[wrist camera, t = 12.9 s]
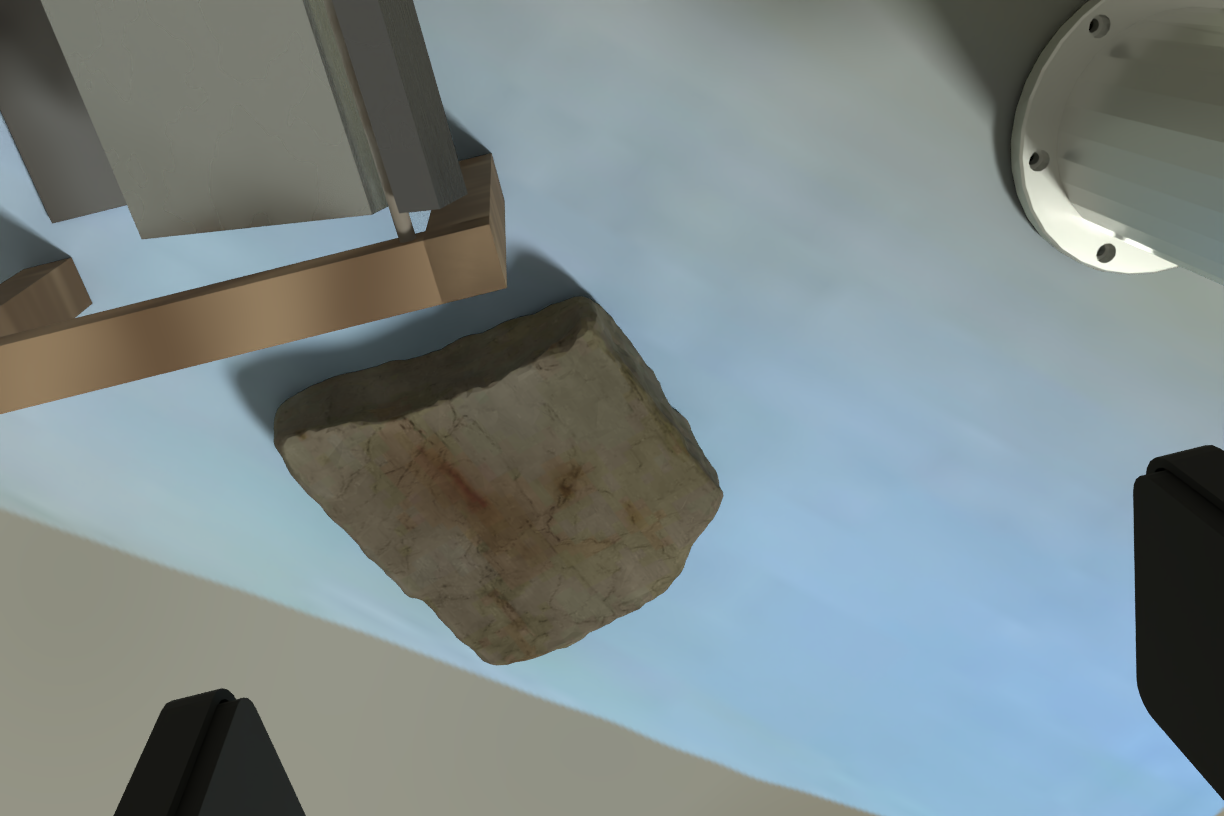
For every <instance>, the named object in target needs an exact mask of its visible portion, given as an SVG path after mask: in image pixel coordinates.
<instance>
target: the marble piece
mask: <svg viewBox="0 0 1224 816" xmlns="http://www.w3.org/2000/svg"><path fill="white" fill-rule="evenodd" d="M274 445H275V447H276V449H277V450H278V452H279V453H280V455H281V456H282V458H283V460H284V462H285V464H286V467H287V468H288V470H289V472H290V474H291V475H292V476H293V478H294V479H295V480H296V481H297V482H298V484H299V485H300V486H301V487H302V488H303V489H304V490H305V492H306V493H307V494H308V495H309V496H310V497H312V498H313V499H314V500H315V501H316V502H317V503H318V504H319V505H320V506H321V507H322V508H323V510H324V511H325V512H326V514H327V515H328V516H329V517H330V518H331V519H332V520H333V521H334V522H335V523H337V524H338V525H339V526H340V527H342V528H343V529H344V530H345V531H346V532H347V533H348V534H349V535H350V536H351V538H352V539H353V540H354V541H355V542H356V543H357V544H358V545H359V546H360V548H361V550H362V551H363V552H364V554H365V555H366V556H367V557H368V558H369V559H371V560H372V561H374V562H375V563H376V564H377V565H378V566H379V567H380V568H382V569H383V571H384V572H385V573H386V575H388V576H389V577H390V578H391V579H392V580H394V581H395V582H396V583H397V585H398V586H399V587H400V588H401V589H402V591H403V592H404V594H406V595H407V596H409V597H411V598H417V599H420V600H422V601H424V602H425V603H426V604H427V605H428V606H429V607H430V608H431V609H432V610H433V611H434V612H435V613H436V615H437V616H438V618H439V619H440V620H441V621H442V622H443V623H444V624H445V625H446V626H447V627H448V628H450V630H451V631H452V632H453V633H454V634H455V636H456V637H457V638H458V639H459V640H460V641H462V642H463V643H464V644H466V645H467V646H469V647H470V648H471V649H472V650H474V651H475V653H476V654H477V655H478V656H479V657H480V658H481V659H482V660H483V661H484V662H487V663H489V664H492V665H508V664H511V663H514V662H520V661H525V660H530V659H533V658H536V657H539V656H542V655H544V654H547V653H549V652H552V651H554V650H556V649H561V648H567V647H568V646H570V645H572V644H574V643H576V642H578V641H579V640H581V639H583V638H584V637H585V636H586V635H587V634H588V633H589V632H592V631H595V630H597V629H599V628H601V627H603V626H605V625H607V624H610V623H611V622H612V621H614V620H615V619H617V618H619V617H622V616H624V615H627V614H629V613H631V612H633V611H635V610H638V609H640V608H641V607H642V606H643V605H644V604H645V603H647V602H649V601H651V600H653V599H655V598H656V597H657V596H659V595H660V594H662V593H664V592H665V591H666V590H667V589H668V587H669V586H670V585H671V584H672V582H673V581H674V580H675V579H676V578H677V577H678V576H679V575H680V573H681V572H682V570H683V568H684V565H685V561H686V559H687V557H688V555H689V552H690V549H691V547H692V545H693V543H694V542H695V541H696V539H697V538H698V537H699V536H700V534H701V533H702V532H703V531H704V530H705V528H706V527H707V526H708V524H709V523H710V522H711V521H712V520H713V518H714V516H715V515H716V513H717V511H718V509H719V507H720V504H721V501H722V498H723V491H722V490H721V488H720V486H719V480H718V475H717V473H716V470H715V469H714V468H713V467H712V466H711V464H710V462H709V461H708V459H707V458H706V457H705V455H704V453H703V451H702V449H701V448H700V447H699V445H698V443H697V441H696V439H695V437H694V435H693V433H692V431H691V427H690V425H689V423H688V421H687V420H686V418H685V417H683V416H682V415H681V414H680V413H678V412H677V411H675V410H674V409H673V408H672V407H671V406H670V404H669V403H668V400H667V399H666V397H665V395H664V393H663V391H662V388H661V385H660V383H659V381H658V380H657V378H656V376H655V374H654V371H653V370H652V369H650V368H649V367H648V366H647V365H646V363H645V362H644V360H643V359H642V357H641V356H640V355H639V353H638V352H637V350H636V349H635V347H634V346H633V345H632V343H631V341H630V340H629V339H628V338H627V336H626V335H625V334H624V333H623V332H622V330H621V329H620V327H618V326H617V325H616V323H615V321H614V320H613V318H612V317H611V316H610V315H608V314H607V313H606V312H605V310H604V309H603V308H602V307H601V306H600V305H599V304H596V303H595V302H593V301H592V300H591V299H589V298H586V297H583V296H579V297H573V298H570V299H568V300H565V301H562V302H560V303H556V304H552V305H550V306H548V307H546V308H544V309H543V310H541V311H539V312H537V313H536V314H533V315H527V316H522V317H519V318H516V319H512V320H509V321H506V322H504V323H501V324H499V325H498V326H496V327H494V328H493V329H490V330H487V331H486V332H484V333H480V334H474V335H469V336H465V337H462V338H460V339H458V340H456V341H455V342H453V343H451V344H449V345H447V346H446V347H444V348H443V349H441V350H439V351H434V352H431V353H429V354H426V355H423V356H419V357H416V358H412V359H408V360H395V361H390V362H387V363H384V364H382V365H379V366H377V367H372V368H368V369H365V370H361V371H356V372H351V373H346V374H342V375H338V376H335V377H332V378H330V379H327V380H325V381H323V382H321V383H318V384H315V385H313V386H310V387H308V388H307V389H305V390H303V391H301V392H299V393H298V394H296V395H294V396H293V397H291V398H289V399H288V400H286V401H285V402H284V403H283V404H282V405H280V407H279V408H278V410H277V412H276V415H275V419H274Z"/></svg>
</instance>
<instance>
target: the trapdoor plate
mask: <svg viewBox="0 0 1224 816" xmlns="http://www.w3.org/2000/svg"><path fill="white" fill-rule="evenodd" d="M41 2H42V5H43V7H44V10H45V12H46V14H47V17H48V19H49V21H50V24H51V26H52V28H53V31H54V33H55V36H56V38H57V40H58V43H59V45H60V47H61V50H62V52H63V54H64V57H65V59H66V62H67V64H68V66H69V69H70V71H71V73H72V76H73V78H74V80H75V83H76V85H77V87H78V90H79V92H80V95H81V97H82V99H83V102H84V104H85V106H86V109H87V111H88V113H89V116H90V118H91V121H92V123H93V125H94V128H95V130H96V132H97V135H98V137H99V139H100V142H101V144H102V147H103V149H104V151H105V154H106V156H107V158H108V161H109V163H110V165H111V168H112V170H113V172H114V175H115V177H116V180H117V182H118V184H119V187H120V189H121V191H122V194H123V196H124V198H125V201H126V203H127V206H128V208H129V210H130V213H131V215H132V217H133V220H134V222H135V224H136V227H137V229H138V232H139V234H140V236H141V239H149V238H158V237H168V236H177V235H186V234H196V233H205V232H214V231H224V230H233V229H242V228H252V227H261V226H270V225H280V224H289V223H298V222H307V221H317V220H326V219H335V218H345V217H354V216H363V215H372V214H374V213H376V212H378V211H380V210H382V209H384V208H386V207H388V203H387V200H386V197H385V194H384V191H383V187H382V184H381V181H380V178H379V175H378V172H377V168H376V165H375V162H374V159H373V156H372V153H371V150H370V146H369V143H368V140H367V137H366V134H365V131H364V128H363V124H362V121H361V118H360V115H359V112H358V109H357V106H356V102H355V99H354V96H353V93H352V90H351V87H350V84H349V80H348V77H347V74H346V71H345V68H344V65H343V62H342V58H341V55H340V52H339V49H338V46H337V43H336V40H335V36H334V33H333V30H332V27H331V24H330V21H329V18H328V14H327V11H326V8H325V5H324V2H323V0H41ZM332 2H333V5H334V8H335V12H336V15H337V18H338V21H339V24H340V27H341V31H342V34H343V37H344V40H345V43H346V46H347V50H348V53H349V56H350V59H351V62H352V66H353V69H354V72H355V75H356V78H357V81H358V85H359V88H360V91H361V94H362V97H363V100H364V104H365V107H366V110H367V113H368V116H369V120H370V123H371V126H372V129H373V132H374V135H375V139H376V142H377V145H378V148H379V151H380V155H381V158H382V161H383V164H384V167H385V170H386V174H387V177H388V180H389V183H390V186H391V189H392V193H393V196H394V199H395V202H396V205H397V209H398V212H399V213H408V212H417V211H426V210H436V209H441V208H443V207H445V206H447V205H448V204H450V203H452V202H454V201H456V200H458V199H459V198H461V197H463V196H465V195H467V194H468V193H467V189H466V186H465V182H464V179H463V175H462V172H461V168H460V165H459V161H458V158H457V154H456V151H455V147H454V144H453V140H452V137H451V133H450V130H449V126H448V123H447V119H446V115H445V112H444V108H443V105H442V101H441V98H440V94H439V91H438V87H437V84H436V80H435V77H434V73H433V70H432V66H431V63H430V59H429V56H428V52H427V49H426V45H425V42H424V38H423V35H422V31H421V28H420V24H419V21H418V17H417V14H416V10H415V7H414V3H413V0H332Z"/></svg>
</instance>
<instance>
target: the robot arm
mask: <svg viewBox="0 0 1224 816" xmlns="http://www.w3.org/2000/svg"><path fill="white" fill-rule="evenodd" d="M1091 21H1093V27H1092V29H1091V30H1090V31H1089V26H1090V22H1091ZM1033 153H1034V159H1033V160H1032V161H1031V162H1029V160H1030V157H1031V156H1032V154H1033ZM1011 169H1012V173H1013V178H1014V183H1015V187H1016V192H1017V196H1018V198H1019V200H1020V202H1021V205H1022V207H1023V209H1024V211H1025V214H1026V216H1027V218H1028V219H1029V221H1030V222H1031V223H1032V225H1033V226H1034V227H1035V229H1036V230H1037V231H1038V233H1039V234H1040V235H1041V237H1042V238H1044V239H1045V240H1046V241H1047V242H1048V243H1049V244H1051V245H1052V246H1053V247H1054V248H1055V249H1057V250H1058V251H1059V252H1060V253H1062V254H1064V255H1066V256H1068V257H1070V258H1072V259H1073V260H1075V261H1077V262H1079V263H1081V264H1083V265H1086V266H1088V267H1091V268H1093V269H1096V270H1099V271H1103V272H1110V273H1117V274H1124V275H1134V274H1150V273H1156V272H1160V271H1164V270H1168V269H1172V268H1176V267H1182V268H1185V269H1187V270H1189V271H1192V272H1194V273H1196V274H1198V275H1201V276H1203V277H1205V278H1207V279H1210V280H1212V281H1214V282H1216V283H1219V284H1221V285H1223V286H1224V0H1090V1H1088V2H1087V3H1085V4H1084V5H1083V6H1082V7H1081V8H1080V9H1079V10H1078V11H1077V12H1076V13H1075V14H1074V15H1073V16H1072V17H1070V18H1069V19H1068V20H1067V21H1066V22H1065V23H1064V24H1063V25H1062V26H1061V27H1060V28H1059V30H1058V31H1057V32H1056V34H1055V35H1054V36H1053V38H1052V39H1051V40H1050V42H1049V43H1048V44H1047V46H1046V47H1045V48H1044V50H1043V51H1042V52H1041V54H1040V56H1039V58H1038V60H1037V61H1036V63H1035V65H1034V67H1033V69H1032V71H1031V73H1030V75H1029V76H1028V78H1027V80H1026V82H1025V85H1024V88H1023V91H1022V94H1021V97H1020V100H1019V103H1018V106H1017V109H1016V112H1015V119H1014V125H1013V131H1012V137H1011ZM1099 248H1100V249H1099ZM1098 249H1099V250H1098ZM1097 250H1098V252H1097ZM1133 506H1134V562H1135V617H1136V673H1137V686H1138V690H1139V694H1140V696H1141V699H1142V701H1143V704H1144V706H1145V707H1146V709H1147V711H1148V713H1149V714H1150V715H1151V717H1152V718H1153V719H1154V720H1155V722H1156V723H1157V724H1158V725H1159V726H1160V727H1161V728H1162V730H1163V731H1164V732H1165V733H1166V734H1167V735H1168V737H1169V738H1170V739H1171V740H1172V741H1173V742H1174V743H1175V745H1176V746H1177V747H1178V748H1179V749H1180V750H1181V752H1182V753H1183V754H1184V755H1185V756H1186V757H1187V759H1188V760H1189V761H1190V762H1191V763H1192V764H1193V765H1194V767H1195V768H1196V769H1197V770H1198V771H1199V772H1200V774H1201V775H1202V776H1203V777H1204V778H1205V779H1206V780H1207V782H1208V783H1209V784H1210V785H1211V786H1212V787H1213V789H1214V790H1215V791H1216V792H1217V793H1218V794H1219V796H1220V797H1221V798H1222V799H1223V800H1224V451H1223V450H1222V449H1220V448H1218V447H1215V446H1213V445H1205V446H1201V447H1197V448H1193V449H1189V450H1185V451H1181V452H1177V453H1173V454H1169V455H1164V456H1160V457H1156V458H1154V459H1153V460H1152V461H1150V463H1149V465H1148V467H1147V471H1146V475H1143V476H1140V477H1138V478H1137V479H1136V481H1135V483H1134V489H1133ZM114 816H306V815H305V813H304V811H303V809H302V807H301V804H300V803H299V800H298V798H297V796H296V794H295V792H294V789H293V787H292V785H291V783H290V781H289V778H288V776H287V774H286V772H285V770H284V768H283V766H282V764H281V761H280V759H279V757H278V755H277V753H276V750H275V748H274V746H273V744H272V742H271V740H270V738H269V735H268V733H267V731H266V729H265V727H264V725H263V723H262V720H261V718H260V716H259V714H258V712H257V710H256V708H255V706H254V704H253V703H252V702H251V700H249V699H248V698H240V699H236V698H235V697H234V695H233V694H232V693H231V692H230V691H229V690H227V689H217V690H214V691H209V692H205V693H201V694H197V695H194V696H190V697H185V698H181V699H177V700H173V701H171V702H169V703H167V704H166V705H165V706H164V708H163V709H162V711H161V713H160V715H159V717H158V719H157V722H156V724H155V726H154V728H153V730H152V732H151V735H150V737H149V739H148V741H147V743H146V746H145V748H144V750H143V753H142V754H141V757H140V759H139V761H138V763H137V765H136V768H135V770H134V772H133V774H132V777H131V779H130V781H129V783H128V785H127V787H126V790H125V792H124V794H123V796H122V798H121V801H120V803H119V805H118V807H117V810H116V811H115V814H114Z"/></svg>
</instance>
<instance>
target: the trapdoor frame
mask: <svg viewBox="0 0 1224 816" xmlns="http://www.w3.org/2000/svg"><path fill="white" fill-rule="evenodd" d="M323 2H324V5H325V8H326V11H327V14H328V18H329V21H330V24H331V27H332V30H333V33H334V36H335V40H336V43H337V46H338V49H339V52H340V55H341V58H342V62H343V65H344V68H345V71H346V74H347V77H348V80H349V84H350V87H351V90H352V93H353V96H354V99H355V102H356V106H357V109H358V112H359V115H360V118H361V121H362V124H363V128H364V131H365V134H366V137H367V140H368V143H369V146H370V150H371V153H372V156H373V159H374V162H375V165H376V168H377V172H378V175H379V178H380V181H381V184H382V187H383V191H384V194H385V197H386V200H387V203H388V206H389V209H390V213H391V216H392V219H393V222H394V225H395V228H396V231H397V235H398V238H396V239H392V240H388V241H384V242H380V243H376V244H372V245H368V246H364V247H360V248H356V249H352V250H348V251H344V252H340V253H336V254H332V255H328V256H324V257H320V258H316V259H312V260H308V261H304V262H300V263H296V264H291V265H287V266H283V267H279V268H275V269H271V270H267V271H263V272H259V273H255V274H251V275H247V276H243V277H239V278H235V279H231V280H227V281H223V282H219V283H215V284H211V285H207V286H203V287H199V288H195V289H191V290H187V291H183V292H179V293H175V294H171V295H167V296H163V297H159V298H155V299H151V300H147V301H143V302H139V303H135V304H131V305H127V306H123V307H119V308H115V309H111V310H107V311H103V312H99V313H94V314H90V315H86V316H82V317H78V318H75V317H77V316H78V315H79V314H80V313H81V312H83V311H84V310H85V309H86V308H87V307H89V306H90V305H91V304H92V301H91V299H90V297H89V295H88V293H87V290H86V288H85V286H84V284H83V282H82V279H81V277H80V275H79V273H78V271H77V268H76V266H75V264H74V262H73V260H72V257H71V258H67V259H63V260H59V261H55V262H51V263H47V264H43V265H39V266H35V267H31V268H27V269H23V270H22V271H20V272H19V273H17V274H15V275H14V276H12V277H11V278H9V279H8V280H6V281H4V282H3V283H1V284H0V414H3V413H7V412H11V411H15V410H19V409H23V408H27V407H31V406H35V405H39V404H43V403H47V402H51V401H55V400H59V399H63V398H67V397H71V396H75V395H79V394H83V393H87V392H91V391H95V390H99V389H103V388H107V387H111V386H115V385H119V384H123V383H127V382H131V381H135V380H139V379H143V378H147V377H151V376H155V375H159V374H164V373H168V372H172V371H176V370H180V369H184V368H188V367H192V366H196V365H200V364H204V363H208V362H212V361H216V360H220V359H224V358H228V357H232V356H236V355H240V354H244V353H248V352H252V351H256V350H260V349H264V348H268V347H272V346H276V345H280V344H284V343H288V342H292V341H296V340H300V339H304V338H308V337H312V336H316V335H320V334H324V333H328V332H332V331H336V330H340V329H344V328H348V327H352V326H356V325H360V324H364V323H368V322H372V321H376V320H380V319H384V318H388V317H392V316H396V315H400V314H404V313H408V312H413V311H417V310H421V309H425V308H429V307H433V306H437V305H441V304H445V303H449V302H453V301H457V300H461V299H465V298H469V297H473V296H477V295H481V294H485V293H489V292H493V291H497V290H501V289H505V288H507V272H506V237H505V201H504V197H503V194H502V190H501V186H500V182H499V179H498V175H497V171H496V168H495V164H494V160H493V157H492V153H490V154H486V155H482V156H478V157H474V158H470V159H466V160H462V161H459V165H460V168H461V172H462V175H463V179H464V182H465V186H466V189H467V193H468V194H467V195H465V196H463V197H461V198H459V199H458V200H456V201H454V202H452V203H450V204H448V205H447V206H445V207H443V208H441V209H436V210H431V213H430V217H429V221H428V224H427V228H426V231H424V232H420V233H416V234H415V232H414V229H413V226H412V222H411V219H410V216H409V213H399V212H398V209H397V205H396V202H395V199H394V196H393V193H392V189H391V186H390V183H389V180H388V177H387V174H386V170H385V167H384V164H383V161H382V158H381V155H380V151H379V148H378V145H377V142H376V139H375V135H374V132H373V129H372V126H371V123H370V120H369V116H368V113H367V110H366V107H365V104H364V100H363V97H362V94H361V91H360V88H359V85H358V81H357V78H356V75H355V72H354V69H353V66H352V62H351V59H350V56H349V53H348V50H347V46H346V43H345V40H344V37H343V34H342V31H341V27H340V24H339V21H338V18H337V15H336V12H335V8H334V5H333V2H332V0H323ZM0 110H1V112H2V115H3V117H4V119H5V121H6V123H7V126H8V128H9V130H10V132H11V134H12V137H13V139H14V141H15V143H16V145H17V147H18V150H19V152H20V154H21V156H22V158H23V161H24V163H25V165H26V167H27V169H28V172H29V174H30V176H31V178H32V180H33V182H34V185H35V187H36V189H37V191H38V193H39V196H40V198H41V200H42V202H43V204H44V207H45V209H46V211H47V213H48V215H49V217H50V220H51V222H52V223H56V222H60V221H64V220H68V219H72V218H77V217H81V216H85V215H89V214H93V213H97V212H101V211H105V210H109V209H113V208H117V207H121V206H125V205H127V203H126V201H125V198H124V196H123V194H122V191H121V189H120V187H119V184H118V182H117V180H116V177H115V175H114V172H113V170H112V168H111V165H110V163H109V161H108V158H107V156H106V154H105V151H104V149H103V147H102V144H101V142H100V139H99V137H98V135H97V132H96V130H95V128H94V125H93V123H92V121H91V118H90V116H89V113H88V111H87V109H86V106H85V104H84V102H83V99H82V97H81V95H80V92H79V90H78V87H77V85H76V83H75V80H74V78H73V76H72V73H71V71H70V69H69V66H68V64H67V62H66V59H65V57H64V54H63V52H62V50H61V47H60V45H59V43H58V40H57V38H56V36H55V33H54V31H53V28H52V26H51V24H50V21H49V19H48V17H47V14H46V12H45V10H44V7H43V5H42V2H41V0H0Z"/></svg>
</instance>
